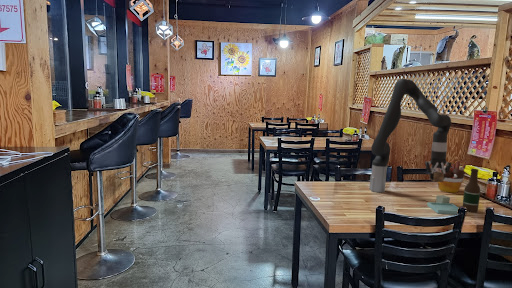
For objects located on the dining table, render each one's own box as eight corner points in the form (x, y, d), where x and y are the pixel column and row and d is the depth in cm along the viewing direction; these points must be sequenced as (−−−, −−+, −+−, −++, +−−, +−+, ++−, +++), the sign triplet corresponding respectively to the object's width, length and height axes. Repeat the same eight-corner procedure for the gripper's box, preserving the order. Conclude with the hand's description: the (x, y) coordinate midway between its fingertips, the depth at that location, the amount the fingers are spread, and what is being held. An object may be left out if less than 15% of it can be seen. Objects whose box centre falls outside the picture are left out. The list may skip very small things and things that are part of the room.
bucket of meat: (452, 195, 225) (455, 165, 222) (428, 189, 239) (431, 161, 236) (469, 191, 235) (472, 163, 232) (445, 186, 249) (448, 158, 246)
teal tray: (437, 213, 190) (438, 210, 189) (427, 205, 203) (427, 202, 203) (464, 214, 189) (464, 211, 188) (451, 206, 202) (452, 203, 202)
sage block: (441, 206, 203) (442, 197, 202) (435, 203, 208) (436, 195, 207) (449, 205, 204) (450, 197, 204) (442, 203, 209) (443, 195, 208)
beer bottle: (471, 213, 191) (477, 171, 188) (458, 209, 198) (463, 168, 195) (481, 212, 194) (486, 170, 191) (467, 207, 201) (472, 167, 198)
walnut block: (434, 181, 195) (434, 173, 194) (430, 179, 200) (430, 171, 199) (443, 182, 195) (443, 173, 194) (439, 180, 200) (439, 171, 199)
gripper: (428, 150, 192) (426, 181, 194) (455, 151, 191) (453, 181, 193) (423, 149, 199) (421, 178, 202) (449, 149, 198) (446, 178, 200)
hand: (436, 179), depth 197 cm, fingers closed on walnut block, 5 cm apart
